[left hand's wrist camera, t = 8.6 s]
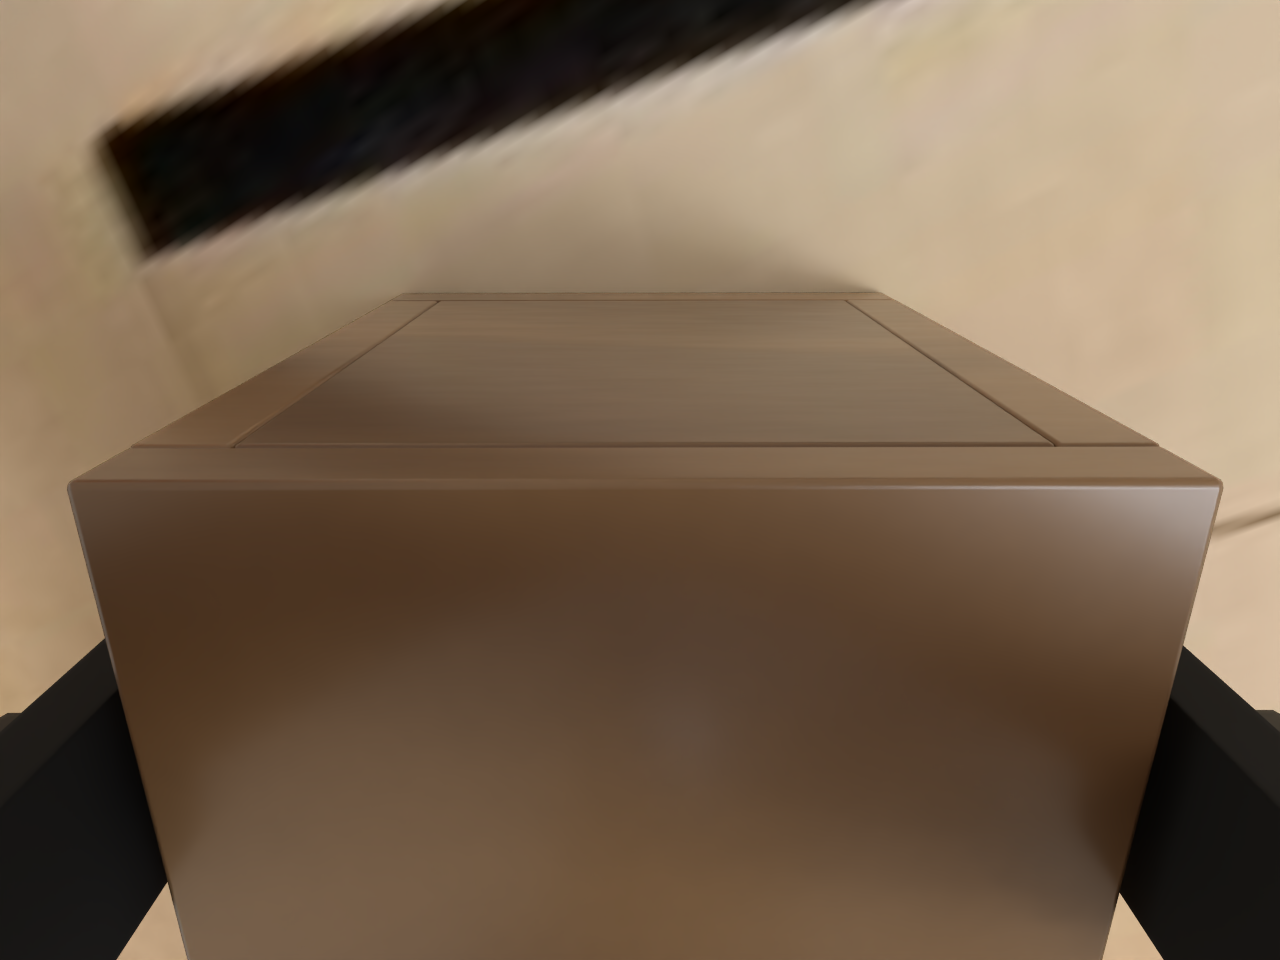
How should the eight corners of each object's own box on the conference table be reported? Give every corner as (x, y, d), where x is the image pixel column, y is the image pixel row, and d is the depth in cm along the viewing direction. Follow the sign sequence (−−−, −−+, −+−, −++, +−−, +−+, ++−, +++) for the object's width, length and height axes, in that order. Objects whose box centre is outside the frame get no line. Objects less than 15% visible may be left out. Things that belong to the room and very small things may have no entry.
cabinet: (823, 897, 24) (970, 1482, 13) (461, 897, 24) (318, 1483, 13) (883, 292, 18) (1230, 481, 7) (401, 293, 18) (61, 482, 7)
